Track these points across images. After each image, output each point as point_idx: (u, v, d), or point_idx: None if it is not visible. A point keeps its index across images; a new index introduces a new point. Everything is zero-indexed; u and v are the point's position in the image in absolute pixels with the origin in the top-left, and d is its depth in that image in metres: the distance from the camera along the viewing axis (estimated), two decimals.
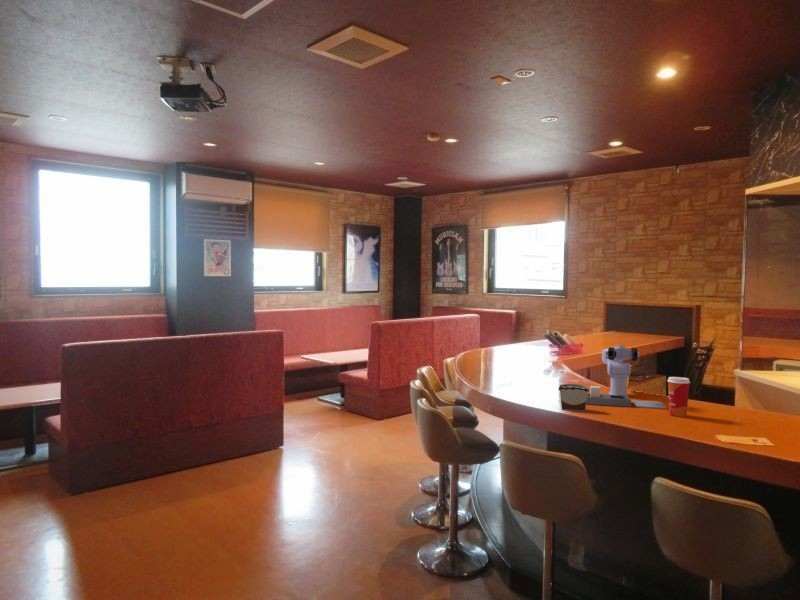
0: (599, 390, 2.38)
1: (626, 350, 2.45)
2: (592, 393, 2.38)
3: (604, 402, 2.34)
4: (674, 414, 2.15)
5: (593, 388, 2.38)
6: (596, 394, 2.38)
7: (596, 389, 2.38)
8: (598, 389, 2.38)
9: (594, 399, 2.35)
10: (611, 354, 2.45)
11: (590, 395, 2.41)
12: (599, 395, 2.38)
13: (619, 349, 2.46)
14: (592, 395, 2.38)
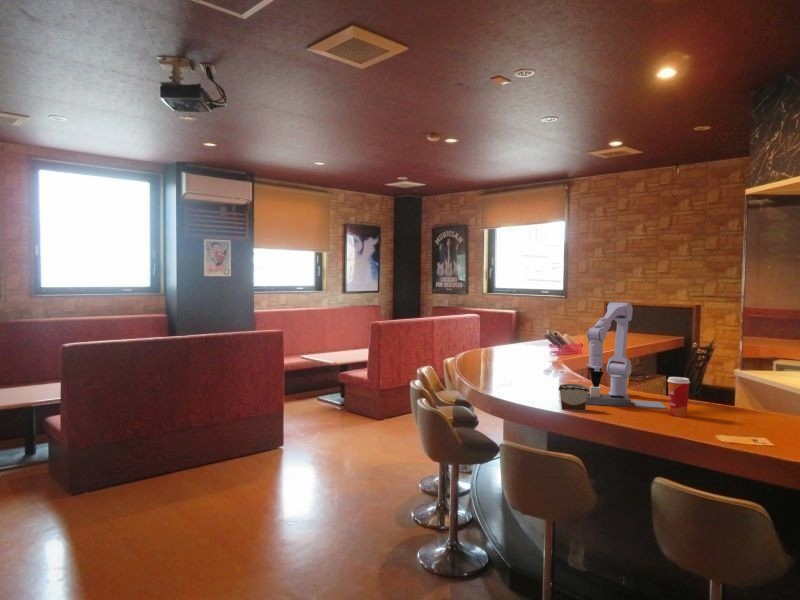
0: (599, 390, 2.38)
1: None
2: (592, 393, 2.38)
3: (604, 402, 2.34)
4: (674, 414, 2.15)
5: (593, 388, 2.38)
6: (596, 394, 2.38)
7: (596, 389, 2.38)
8: (598, 389, 2.38)
9: (594, 399, 2.35)
10: None
11: (590, 395, 2.41)
12: (599, 395, 2.38)
13: None
14: (592, 395, 2.38)
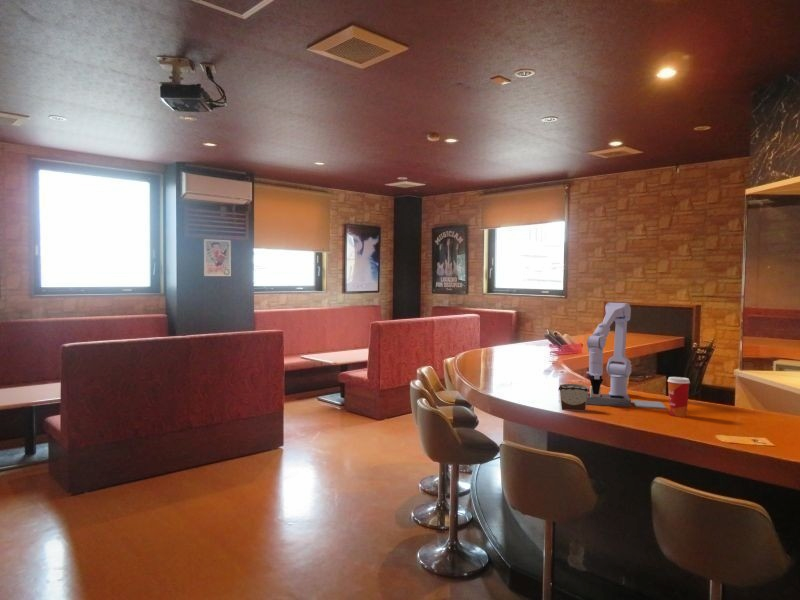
0: None
1: None
2: (592, 393, 2.38)
3: (604, 402, 2.34)
4: (674, 414, 2.15)
5: None
6: (596, 394, 2.38)
7: None
8: None
9: (594, 399, 2.35)
10: None
11: (590, 395, 2.41)
12: (599, 395, 2.38)
13: None
14: (592, 395, 2.38)
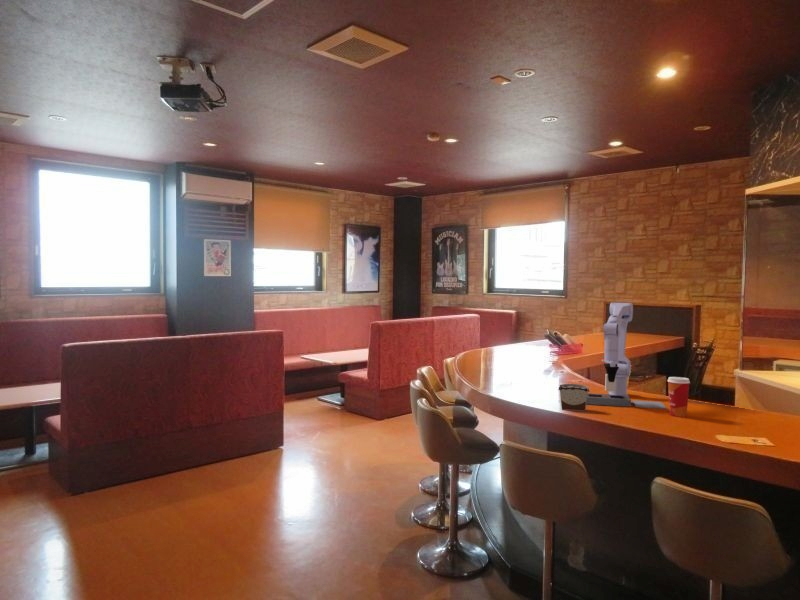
0: None
1: None
2: (607, 381, 2.37)
3: (604, 402, 2.34)
4: (674, 414, 2.15)
5: None
6: (611, 382, 2.36)
7: None
8: None
9: (594, 399, 2.35)
10: None
11: (605, 383, 2.39)
12: (614, 383, 2.36)
13: None
14: (607, 383, 2.37)
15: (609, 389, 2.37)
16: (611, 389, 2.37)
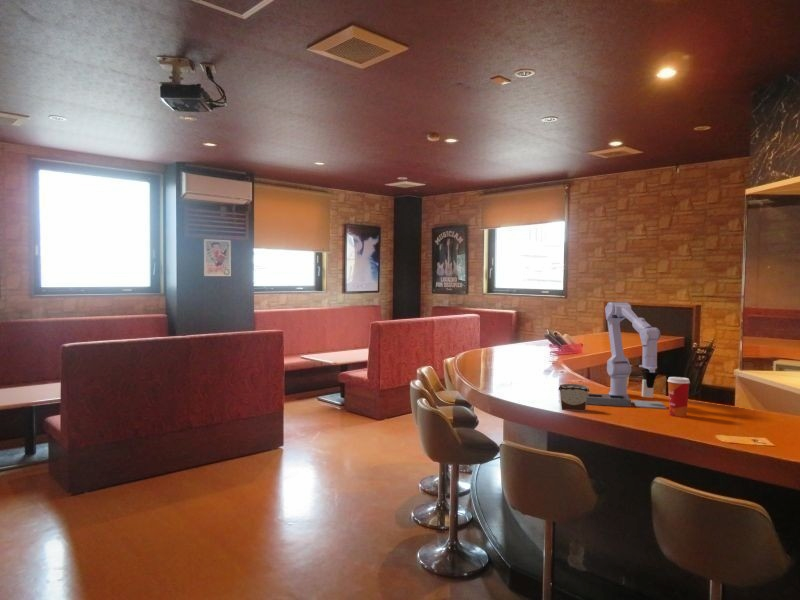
0: None
1: None
2: (645, 387, 2.33)
3: (604, 402, 2.34)
4: (674, 414, 2.15)
5: None
6: (649, 388, 2.33)
7: None
8: None
9: (594, 399, 2.35)
10: None
11: (642, 389, 2.36)
12: (652, 389, 2.33)
13: None
14: (645, 389, 2.33)
15: (646, 395, 2.33)
16: (648, 395, 2.33)
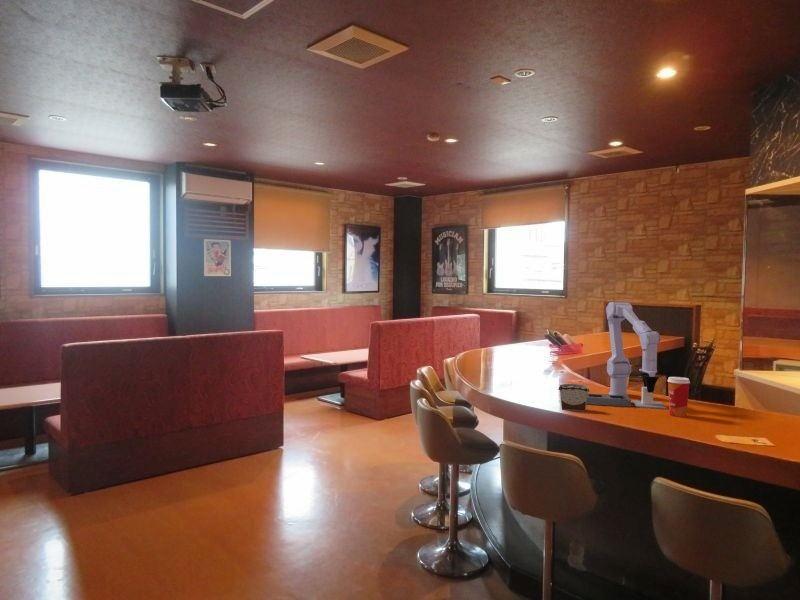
0: None
1: None
2: (644, 394, 2.34)
3: (604, 402, 2.34)
4: (674, 414, 2.15)
5: (645, 389, 2.34)
6: (648, 395, 2.33)
7: None
8: None
9: (594, 399, 2.35)
10: None
11: (642, 396, 2.36)
12: (652, 396, 2.33)
13: None
14: (644, 396, 2.34)
15: (646, 402, 2.33)
16: (648, 402, 2.33)
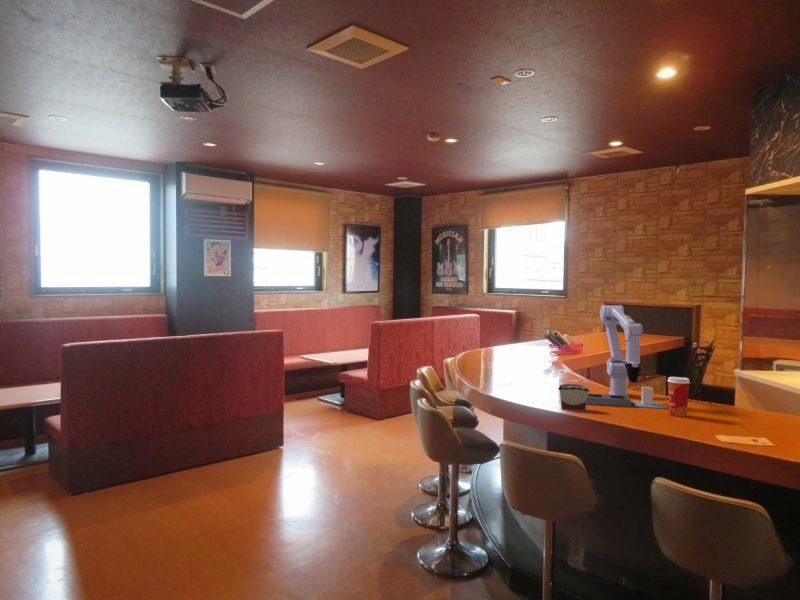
0: (651, 390, 2.33)
1: None
2: (644, 394, 2.34)
3: (604, 402, 2.34)
4: (674, 414, 2.15)
5: (645, 389, 2.34)
6: (648, 395, 2.33)
7: (648, 390, 2.33)
8: (651, 390, 2.33)
9: (594, 399, 2.35)
10: (632, 365, 2.46)
11: (642, 396, 2.36)
12: (652, 396, 2.33)
13: None
14: (644, 396, 2.34)
15: (646, 402, 2.33)
16: (648, 402, 2.33)
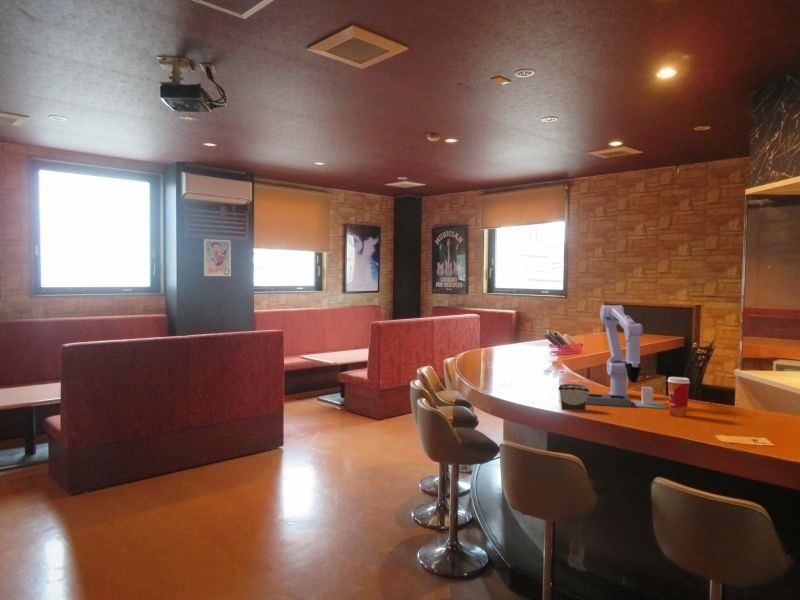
0: (651, 390, 2.33)
1: None
2: (644, 394, 2.34)
3: (604, 402, 2.34)
4: (674, 414, 2.15)
5: (645, 389, 2.34)
6: (648, 395, 2.33)
7: (648, 390, 2.33)
8: (651, 390, 2.33)
9: (594, 399, 2.35)
10: (632, 365, 2.46)
11: (642, 396, 2.36)
12: (652, 396, 2.33)
13: None
14: (644, 396, 2.34)
15: (646, 402, 2.33)
16: (648, 402, 2.33)
